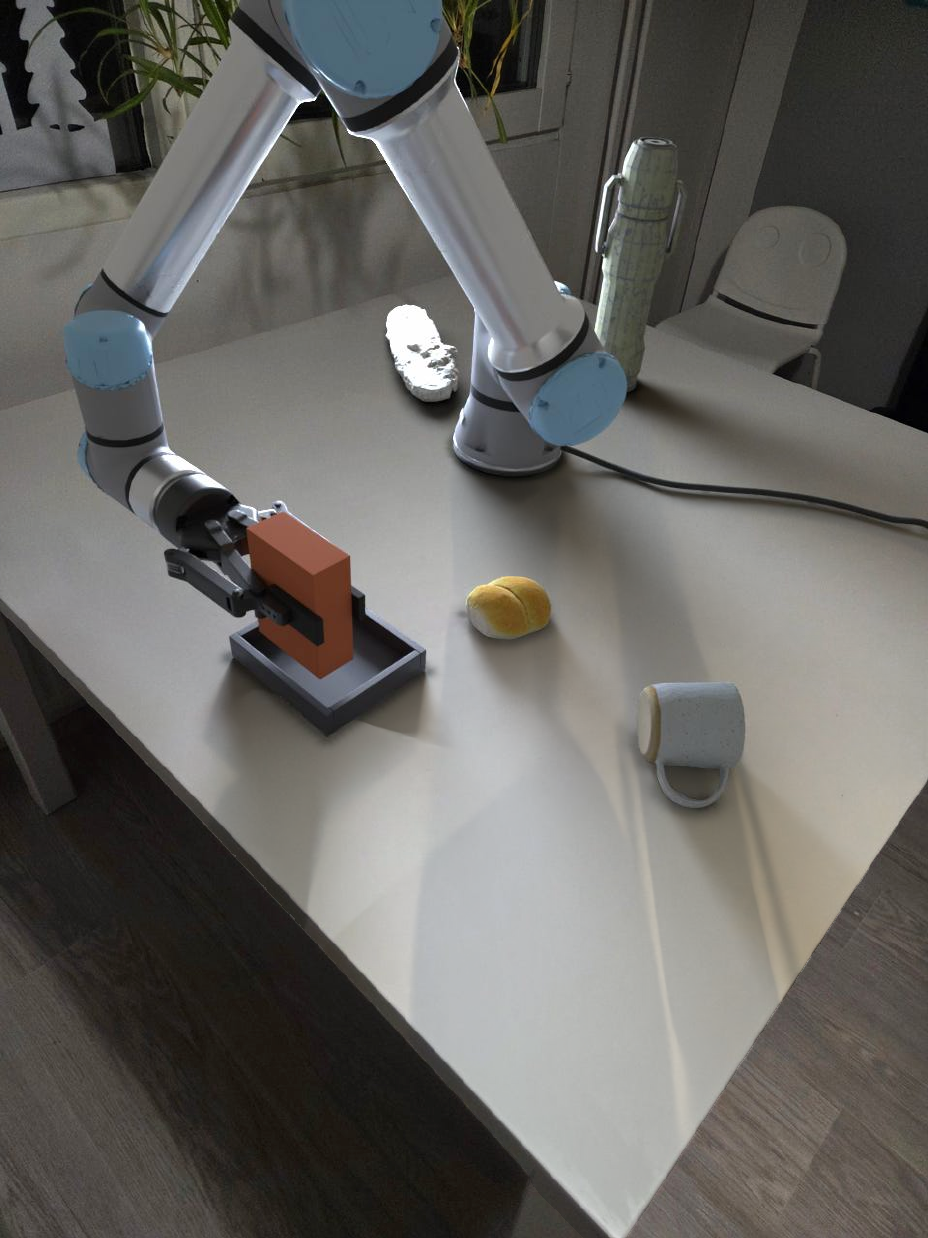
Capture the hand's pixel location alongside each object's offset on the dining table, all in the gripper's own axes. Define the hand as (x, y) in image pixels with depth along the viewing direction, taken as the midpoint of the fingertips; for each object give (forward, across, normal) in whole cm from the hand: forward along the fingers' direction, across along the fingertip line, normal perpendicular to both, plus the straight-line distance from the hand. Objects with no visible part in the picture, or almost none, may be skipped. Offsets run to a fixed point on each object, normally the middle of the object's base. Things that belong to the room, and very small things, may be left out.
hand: (341, 620), depth 71 cm
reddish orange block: (-5, 0, -7) cm, 9 cm away
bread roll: (+2, -21, -11) cm, 24 cm away
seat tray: (-5, -3, -11) cm, 12 cm away
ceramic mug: (+27, -17, -11) cm, 34 cm away
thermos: (-25, -79, -10) cm, 83 cm away
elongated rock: (-51, -60, -11) cm, 80 cm away
